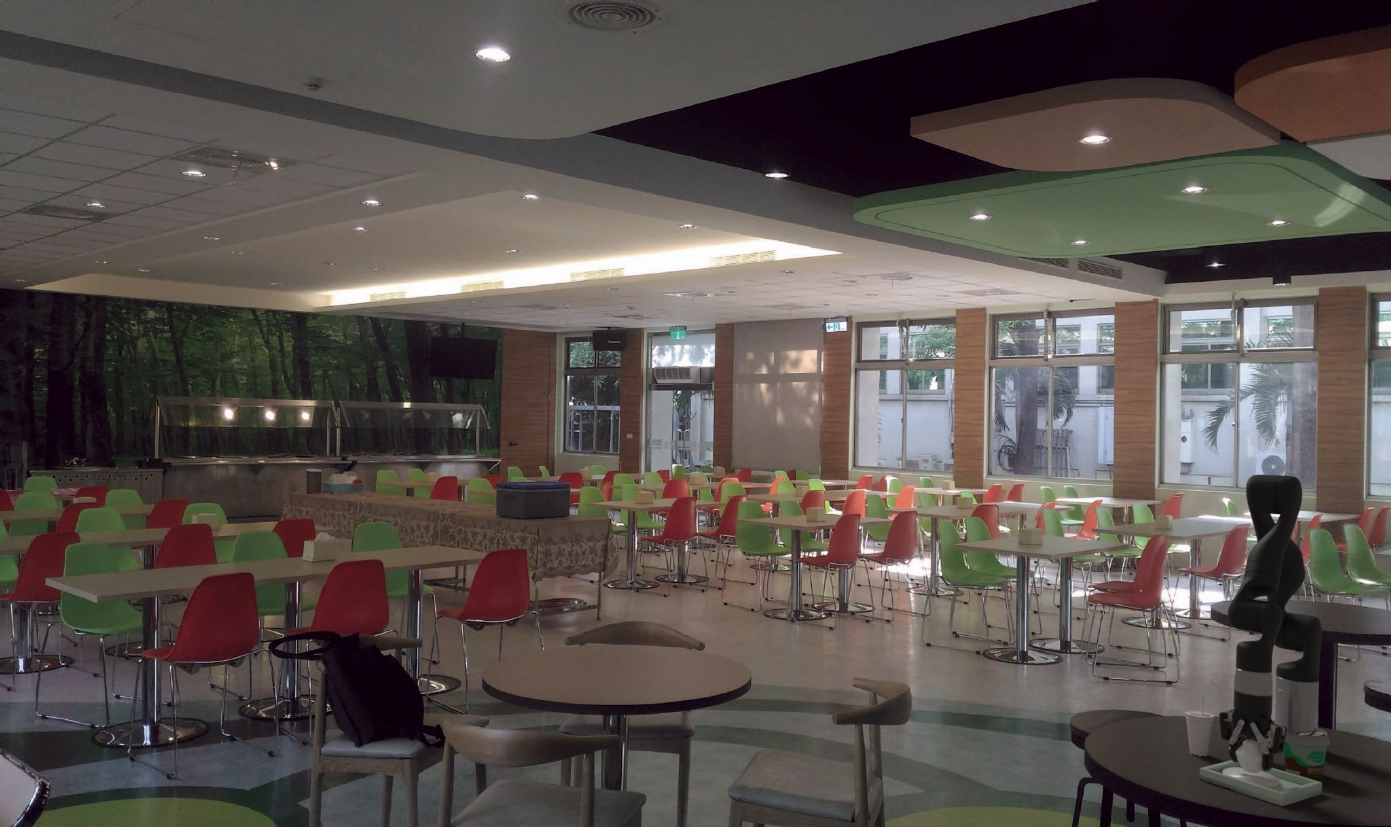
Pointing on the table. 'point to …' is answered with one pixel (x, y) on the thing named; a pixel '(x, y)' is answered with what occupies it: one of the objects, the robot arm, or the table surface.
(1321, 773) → the food container
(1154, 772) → the table surface
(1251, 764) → the muffin
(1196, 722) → the smoothie
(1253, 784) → the tray
